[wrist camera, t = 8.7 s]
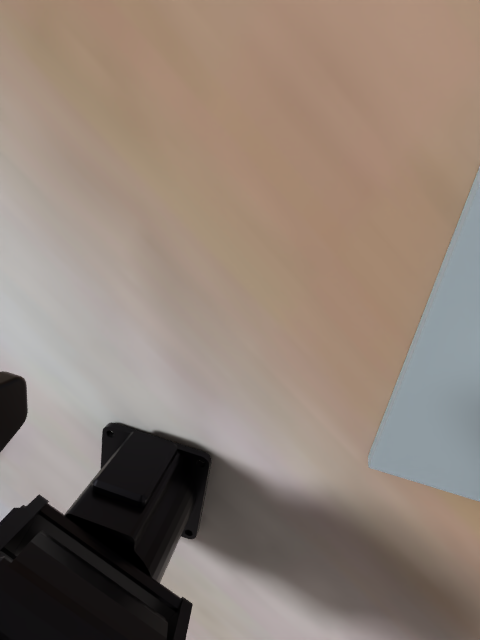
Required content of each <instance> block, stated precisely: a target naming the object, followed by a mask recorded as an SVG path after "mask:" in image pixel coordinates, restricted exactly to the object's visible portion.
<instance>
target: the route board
mask: <svg viewBox="0 0 480 640" xmlns="http://www.w3.org/2000/svg"><path fill="white" fill-rule="evenodd" d="M368 464H369V468H372V469H375V470H378V471H382V472H385V473H388V474H391V475H395V476H398V477H401V478H404V479H408V480H411V481H414V482H418V483H421V484H424V485H427V486H431V487H434V488H437V489H440V490H444V491H447V492H450V493H453V494H457V495H460V496H463V497H466V498H470V499H473V500H476V501H479V502H480V167H479V170H478V172H477V175H476V177H475V180H474V183H473V185H472V188H471V190H470V193H469V196H468V198H467V201H466V203H465V206H464V209H463V211H462V214H461V216H460V219H459V222H458V224H457V227H456V229H455V232H454V235H453V237H452V240H451V242H450V245H449V248H448V250H447V253H446V255H445V258H444V261H443V263H442V266H441V268H440V271H439V273H438V276H437V279H436V281H435V284H434V286H433V289H432V292H431V294H430V297H429V299H428V302H427V305H426V307H425V310H424V312H423V315H422V318H421V320H420V323H419V325H418V328H417V331H416V333H415V336H414V338H413V341H412V344H411V346H410V349H409V351H408V354H407V357H406V359H405V362H404V364H403V367H402V370H401V372H400V375H399V377H398V380H397V383H396V385H395V388H394V390H393V393H392V396H391V398H390V401H389V403H388V406H387V409H386V411H385V414H384V416H383V419H382V422H381V424H380V427H379V429H378V432H377V435H376V437H375V440H374V442H373V445H372V448H371V450H370V453H369V455H368Z"/></svg>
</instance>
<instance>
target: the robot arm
mask: <svg viewBox="0 0 480 640" xmlns="http://www.w3.org/2000/svg"><path fill="white" fill-rule="evenodd" d="M27 411H28V409H27V387H26V381H25V379H24V378H23V377H21V376H18V375H15V374H12V373H9V372H0V452H1V451H2V450H3V448H4V447H5V446H6V445H7V443H8V442H9V441H10V440H11V439H12V437H13V436H14V435H15V434H16V432H17V431H18V430H19V429H20V427H21V426H22V425H23V423H24V421H25V419H26V417H27ZM111 431H112V432H113V433H112V432H111ZM200 460H202V461H204V462H201V461H200ZM210 467H211V457H210V455H209V454H207V453H206V452H203V451H200V450H197V449H194V448H191V447H188V446H184V445H181V444H178V443H175V442H172V441H169V440H166V439H163V438H160V437H156V436H153V435H150V434H147V433H144V432H141V431H138V430H135V429H132V428H128V427H125V426H122V425H119V424H116V423H109V424H108V425H107V426H106V427H105V428H104V429H103V434H102V455H101V470H100V471H99V472H98V474H97V475H96V476H95V477H94V479H93V480H92V481H91V482H90V484H89V485H88V486H87V487H86V489H85V490H84V491H83V492H82V494H81V495H80V496H79V497H78V499H77V500H76V501H75V502H74V503H73V505H72V506H71V507H70V508H69V510H68V511H67V512H66V513H65V515H63V514H62V513H61V512H59V511H58V510H56V509H55V508H54V507H52V506H51V505H49V504H48V502H49V501H48V500H46V499H45V498H44V497H42V496H41V495H38V496H37V497H36V498H35V499H34V500H33V501H32V502H31V503H30V504H28V505H27V506H24V505H23V506H21V507H20V508H13V509H12V510H11V512H10V513H9V514H8V515H7V516H6V517H5V518H4V519H3V520H2V521H1V522H0V640H185V639H186V634H187V629H188V624H189V619H190V615H191V610H192V603H191V602H189V601H188V600H186V599H185V598H184V597H182V598H180V597H178V596H177V595H176V594H174V593H173V592H171V591H170V590H169V589H167V588H166V587H164V586H163V585H162V584H160V581H161V579H162V577H163V575H164V572H165V570H166V568H167V566H168V563H169V561H170V559H171V557H172V555H173V552H174V550H175V548H176V546H177V543H178V541H179V539H180V537H181V536H182V537H185V538H188V539H194V538H195V537H196V535H197V533H198V530H199V525H200V520H201V515H202V509H203V504H204V499H205V493H206V488H207V483H208V477H209V472H210Z"/></svg>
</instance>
